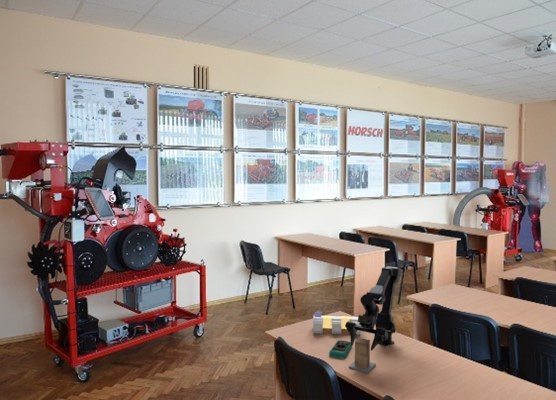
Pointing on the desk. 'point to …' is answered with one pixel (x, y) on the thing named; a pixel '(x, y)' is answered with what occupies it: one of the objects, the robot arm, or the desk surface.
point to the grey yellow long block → (332, 323)
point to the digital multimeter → (340, 349)
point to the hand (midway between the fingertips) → (361, 347)
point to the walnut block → (362, 352)
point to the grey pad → (362, 368)
